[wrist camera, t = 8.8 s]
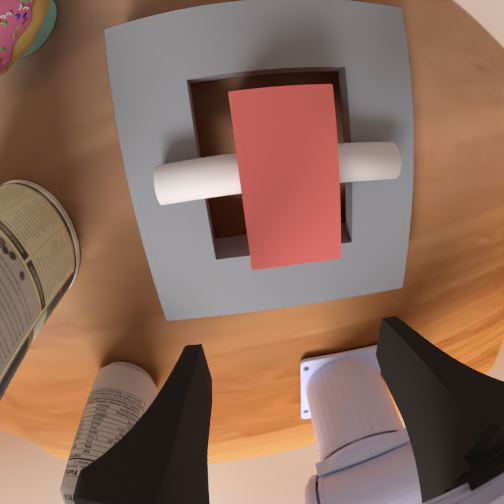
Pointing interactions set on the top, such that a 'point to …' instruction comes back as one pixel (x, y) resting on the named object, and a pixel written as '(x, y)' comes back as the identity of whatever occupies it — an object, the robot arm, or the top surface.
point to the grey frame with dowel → (225, 166)
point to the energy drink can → (107, 416)
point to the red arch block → (288, 173)
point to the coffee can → (31, 267)
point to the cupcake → (24, 28)
